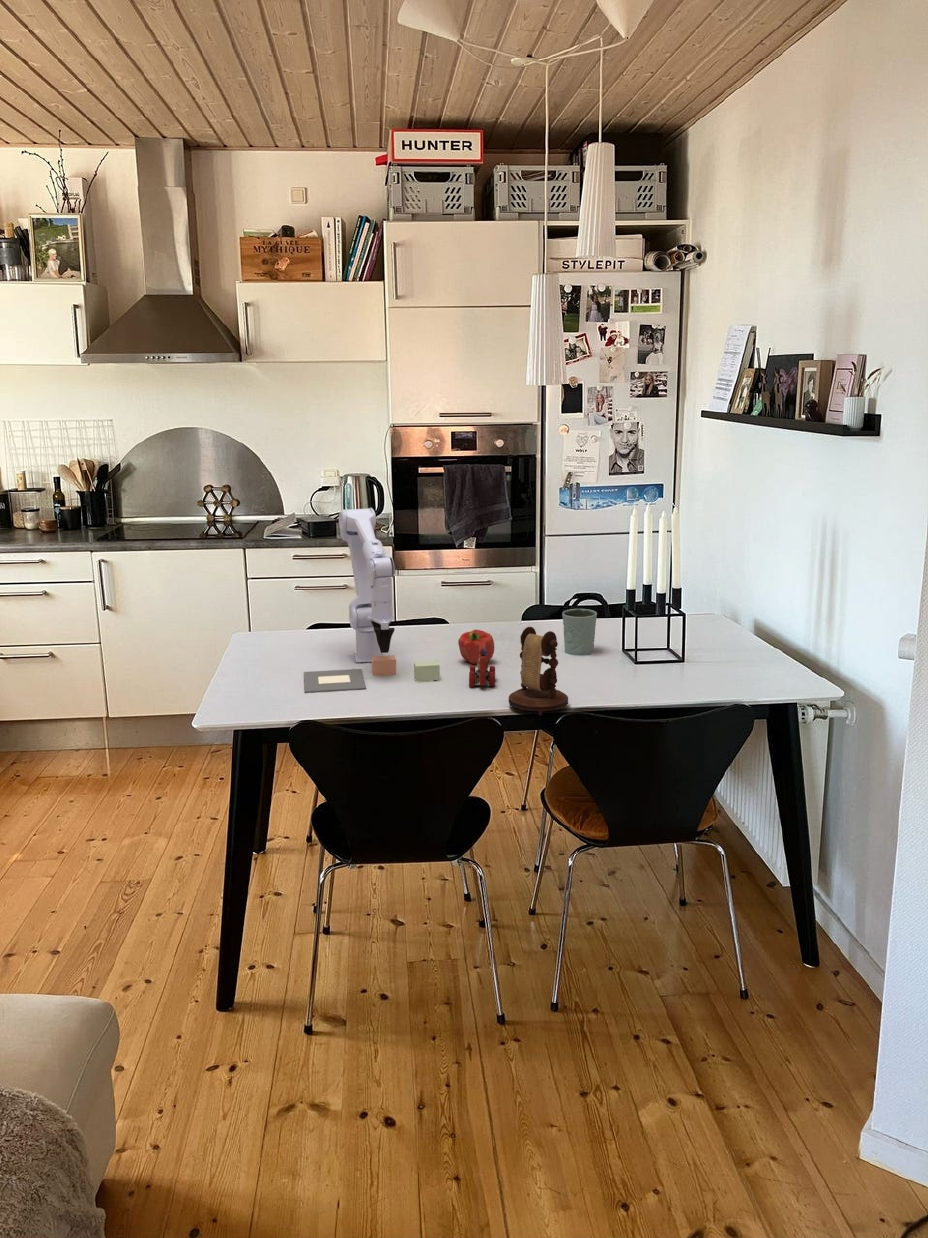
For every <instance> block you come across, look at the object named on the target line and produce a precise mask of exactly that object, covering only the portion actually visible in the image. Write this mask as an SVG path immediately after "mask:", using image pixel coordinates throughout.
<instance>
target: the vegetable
mask: <svg viewBox="0 0 928 1238" xmlns="http://www.w3.org/2000/svg"><path fill="white" fill-rule="evenodd" d="M480 642H486V650H487V655H486V660H487V663H488V662H489V661H490V660H491V659H492V658H493V656H494V653H495V641H494V638H493V636H492V635H491V633H488V632H486V631H484V630H481V629H472V630H471V631H465V632H464V633H462V634H461V635H460V637H459V638H458V641H457V643H458V648H459V652H460V655H461V657H462V658H463V660H465V661H466V662H469V663H470V664H473V665H477V664H478V659H479V657H480Z"/></svg>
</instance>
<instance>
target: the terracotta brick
mask: <svg viewBox="0 0 928 1238" xmlns="http://www.w3.org/2000/svg"><path fill="white" fill-rule="evenodd" d="M396 659H397V658H396V656H395V655H394V654H393V655H382V656H372V662H371V673H372V676H373V677H377V676H395V675H397V660H396Z"/></svg>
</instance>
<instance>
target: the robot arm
mask: <svg viewBox="0 0 928 1238" xmlns="http://www.w3.org/2000/svg"><path fill="white" fill-rule="evenodd" d="M376 523H377V518H376V512H375V510H374V509H373V507H369V508H356V509H355V508H354V509H353V508H352V509H351V508H350V509H344V508H343V509H341V510H340V511H339V513H338V527H339V531H340V537H341V539H342V541H344V542H346V543H347V545H348V549H349V554H350V559H351V569H352V573H353V580H354V581H353V582H354V588H355V594H356V597H355V598H354V599H353V600H352V601H351V602H350V603H349V606H348V612H349V613H348V614H349V615H348V619H349V624H350V627H351V628H352V630H355V650H356V651H355V652H354V653H353V655H354V658H355V662H356V664H357V663H372V656H383V654H385V653H389V652H390V647H391V642H392V641H391V640H392V637H393V634H394V632H395V631H396V630H395V627H390V626H391V623H392V621H393V620H394V613H393V612H394V611H393V583H392V581H393V579H392V578H394V575H395V562H394V559H393V557H392V556H391V555H389V554H387V553H386V551H385V548H384V546H383V543H382V541H380V539H377V538H376V535H375V534H376V533H375V528H376V525H377V524H376Z"/></svg>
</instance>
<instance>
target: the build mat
mask: <svg viewBox="0 0 928 1238" xmlns="http://www.w3.org/2000/svg"><path fill="white" fill-rule="evenodd" d="M303 682H304V683H303V684H304V693H305V694H313V693H324V692H325V693H327V692H343V691H344V692H346V691H358V689H362V690H367V686H366V682H365V678H364V674H363V670H362V668H352V669H351V668H348V669H331V670H318V671H317V670H316V671H315V670H314V671H304V672H303Z"/></svg>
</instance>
